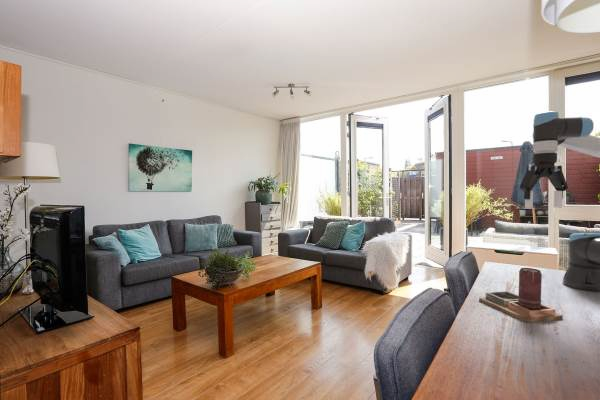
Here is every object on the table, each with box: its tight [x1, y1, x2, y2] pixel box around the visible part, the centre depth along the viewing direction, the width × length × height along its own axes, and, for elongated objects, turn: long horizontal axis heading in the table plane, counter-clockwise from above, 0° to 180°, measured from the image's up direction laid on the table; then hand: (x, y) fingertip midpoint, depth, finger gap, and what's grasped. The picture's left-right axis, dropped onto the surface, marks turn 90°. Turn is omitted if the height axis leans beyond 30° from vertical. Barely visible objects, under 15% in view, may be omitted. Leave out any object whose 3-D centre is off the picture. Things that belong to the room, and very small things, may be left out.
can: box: [518, 267, 543, 310], centre depth 108 cm, size 6×6×14 cm
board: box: [478, 290, 564, 324], centre depth 113 cm, size 14×20×3 cm
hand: (543, 207), depth 125 cm, fingers open, 13 cm apart
